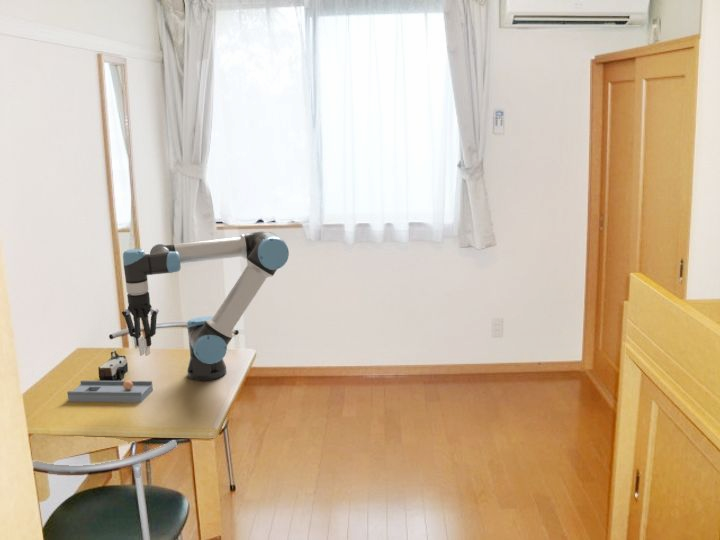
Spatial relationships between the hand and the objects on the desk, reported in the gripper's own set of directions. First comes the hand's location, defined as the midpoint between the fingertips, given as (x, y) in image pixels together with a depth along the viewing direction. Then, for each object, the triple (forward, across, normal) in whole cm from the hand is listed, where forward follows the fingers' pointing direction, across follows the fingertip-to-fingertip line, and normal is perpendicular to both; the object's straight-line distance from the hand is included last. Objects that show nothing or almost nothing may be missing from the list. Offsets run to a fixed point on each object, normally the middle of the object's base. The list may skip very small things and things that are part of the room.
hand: (145, 354), depth 275 cm
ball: (+12, +8, 0) cm, 15 cm away
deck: (+16, +15, 0) cm, 22 cm away
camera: (+17, +21, -18) cm, 32 cm away
